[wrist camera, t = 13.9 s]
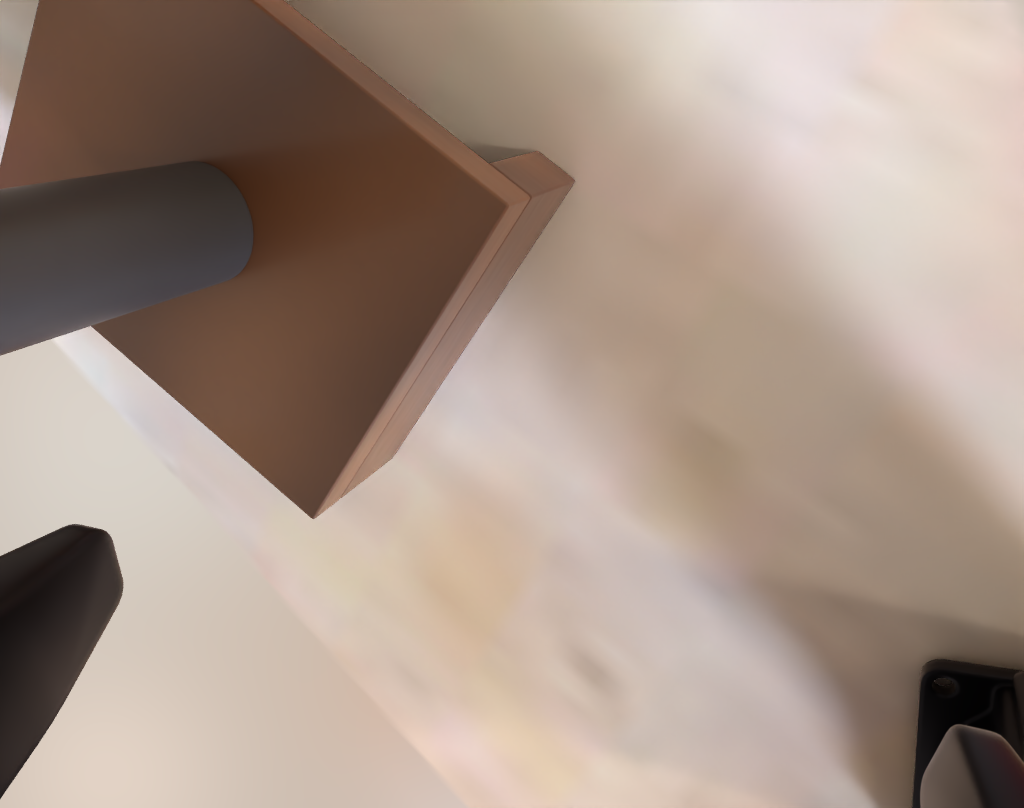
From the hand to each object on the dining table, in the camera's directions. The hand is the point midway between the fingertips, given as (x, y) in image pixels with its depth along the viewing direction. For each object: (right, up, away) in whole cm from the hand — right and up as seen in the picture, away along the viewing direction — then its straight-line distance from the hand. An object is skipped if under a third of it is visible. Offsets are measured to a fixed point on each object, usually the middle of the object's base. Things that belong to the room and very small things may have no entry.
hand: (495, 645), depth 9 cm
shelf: (-5, +8, +14) cm, 17 cm away
